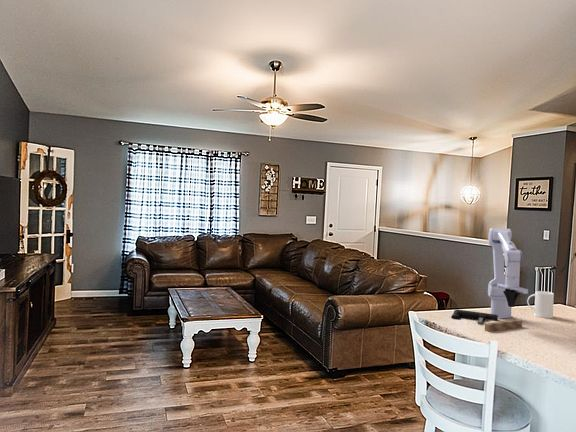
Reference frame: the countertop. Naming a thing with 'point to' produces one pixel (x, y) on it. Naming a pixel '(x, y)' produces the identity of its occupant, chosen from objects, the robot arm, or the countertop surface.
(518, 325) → the bar
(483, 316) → the door handle
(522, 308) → the countertop surface
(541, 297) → the mug
